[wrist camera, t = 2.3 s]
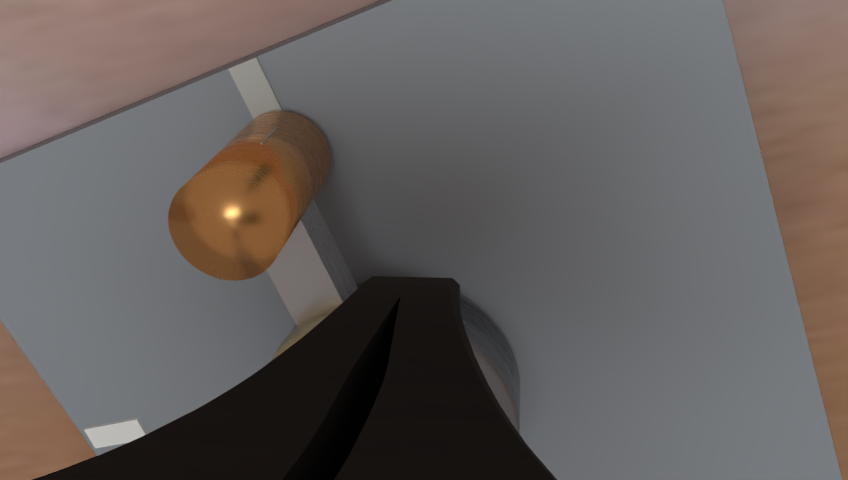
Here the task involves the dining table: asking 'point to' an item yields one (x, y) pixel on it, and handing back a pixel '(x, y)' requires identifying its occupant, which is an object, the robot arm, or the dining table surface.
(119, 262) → the stand
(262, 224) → the crank
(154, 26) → the dining table surface
